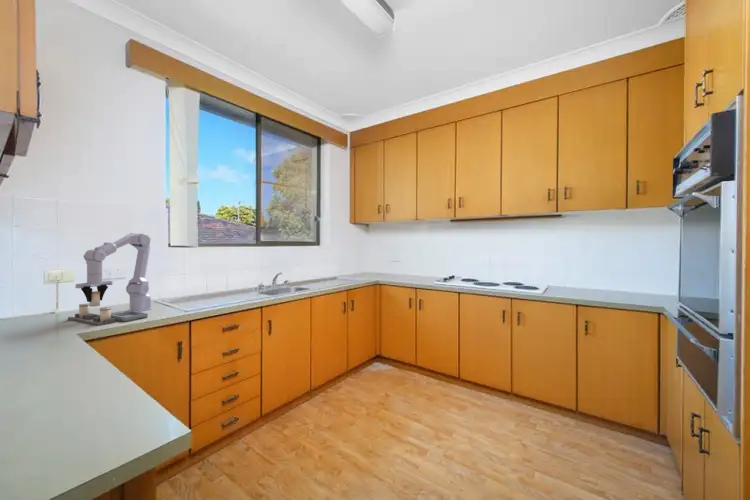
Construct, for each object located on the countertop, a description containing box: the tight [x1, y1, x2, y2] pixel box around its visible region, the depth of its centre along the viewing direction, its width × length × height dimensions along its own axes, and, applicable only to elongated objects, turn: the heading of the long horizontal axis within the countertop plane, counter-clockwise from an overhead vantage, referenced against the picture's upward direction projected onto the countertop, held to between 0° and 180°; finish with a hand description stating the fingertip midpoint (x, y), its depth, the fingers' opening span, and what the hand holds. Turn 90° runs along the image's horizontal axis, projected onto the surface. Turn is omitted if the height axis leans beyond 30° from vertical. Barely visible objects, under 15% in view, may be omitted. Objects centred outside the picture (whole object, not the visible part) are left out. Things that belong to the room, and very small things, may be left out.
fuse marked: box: [88, 290, 101, 308], centre depth 161 cm, size 4×4×7 cm
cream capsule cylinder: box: [78, 303, 91, 319], centre depth 165 cm, size 4×4×7 cm
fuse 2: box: [99, 306, 112, 324], centre depth 158 cm, size 4×4×7 cm
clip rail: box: [67, 312, 122, 327], centre depth 161 cm, size 10×26×2 cm, turn 67°
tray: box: [111, 311, 149, 323], centre depth 167 cm, size 11×13×2 cm
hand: (94, 301), depth 161 cm, fingers closed on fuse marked, 4 cm apart
